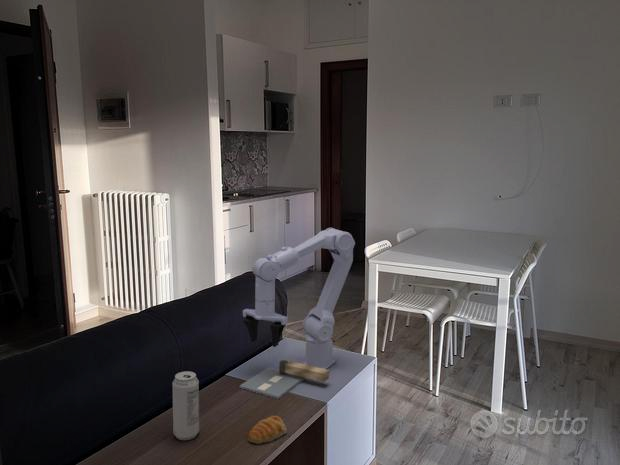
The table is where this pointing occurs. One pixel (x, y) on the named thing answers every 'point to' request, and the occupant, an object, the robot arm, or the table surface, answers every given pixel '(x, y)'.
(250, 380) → the label board
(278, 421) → the pastry
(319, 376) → the bar
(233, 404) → the table surface
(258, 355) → the table surface
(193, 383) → the energy drink can
